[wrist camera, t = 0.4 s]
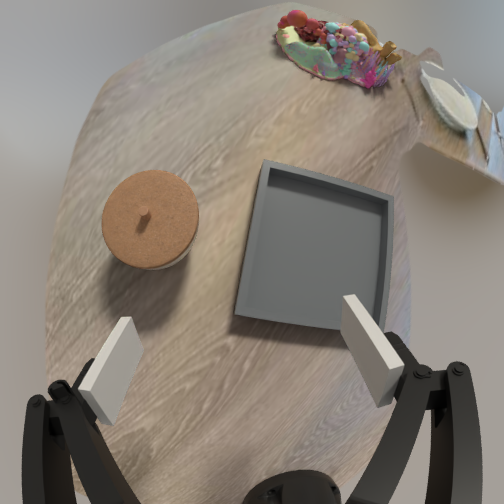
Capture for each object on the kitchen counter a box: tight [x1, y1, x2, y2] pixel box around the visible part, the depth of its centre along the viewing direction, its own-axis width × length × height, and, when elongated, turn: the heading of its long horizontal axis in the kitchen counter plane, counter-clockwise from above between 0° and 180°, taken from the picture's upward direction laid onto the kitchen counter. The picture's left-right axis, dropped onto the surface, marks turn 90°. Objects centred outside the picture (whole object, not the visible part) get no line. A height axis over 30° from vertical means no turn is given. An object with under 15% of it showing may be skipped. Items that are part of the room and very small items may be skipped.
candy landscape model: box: [276, 10, 402, 88], centre depth 41 cm, size 25×24×9 cm
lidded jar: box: [102, 170, 199, 270], centre depth 30 cm, size 11×11×9 cm
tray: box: [234, 159, 394, 333], centre depth 35 cm, size 20×20×2 cm
